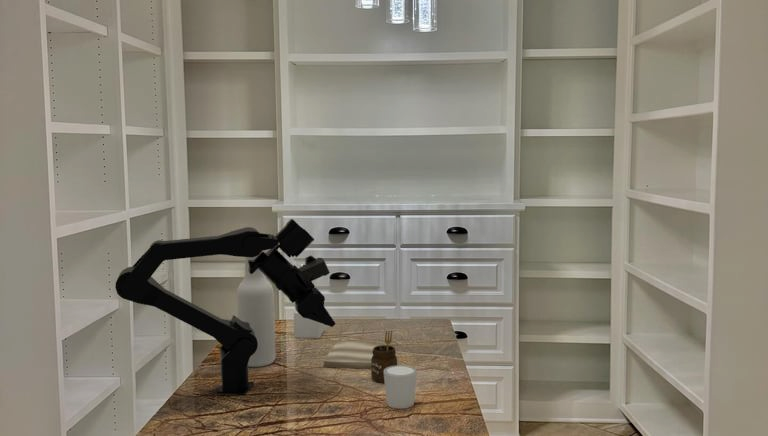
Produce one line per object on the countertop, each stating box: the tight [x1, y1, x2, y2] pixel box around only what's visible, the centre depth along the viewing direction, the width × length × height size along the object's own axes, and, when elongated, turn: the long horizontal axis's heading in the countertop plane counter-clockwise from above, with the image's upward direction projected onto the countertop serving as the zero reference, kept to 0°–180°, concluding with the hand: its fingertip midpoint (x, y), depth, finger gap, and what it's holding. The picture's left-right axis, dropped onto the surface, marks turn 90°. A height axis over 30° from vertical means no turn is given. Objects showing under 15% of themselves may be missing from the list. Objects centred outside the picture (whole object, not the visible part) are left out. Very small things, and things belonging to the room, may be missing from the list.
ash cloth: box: [323, 340, 391, 370], centre depth 167 cm, size 16×14×2 cm
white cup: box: [384, 364, 418, 410], centre depth 137 cm, size 7×7×7 cm
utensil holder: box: [370, 328, 398, 383], centre depth 151 cm, size 6×6×12 cm
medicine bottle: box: [293, 309, 325, 339], centre depth 186 cm, size 7×7×12 cm
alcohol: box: [236, 256, 277, 368], centre depth 162 cm, size 9×9×30 cm
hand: (329, 319), depth 151 cm, fingers open, 9 cm apart
